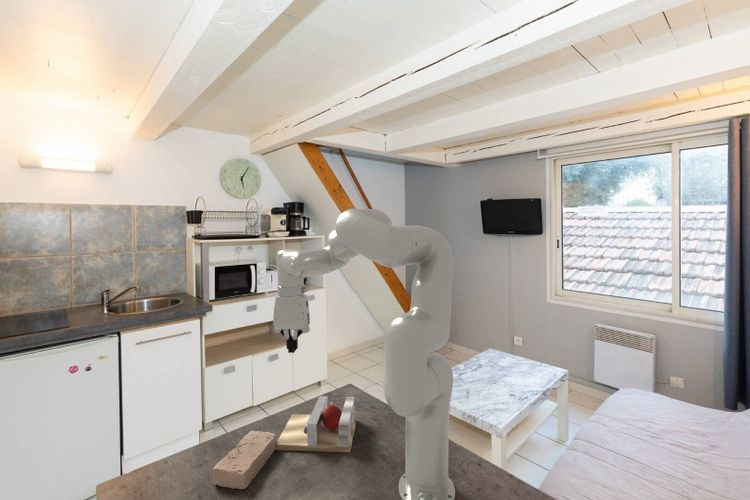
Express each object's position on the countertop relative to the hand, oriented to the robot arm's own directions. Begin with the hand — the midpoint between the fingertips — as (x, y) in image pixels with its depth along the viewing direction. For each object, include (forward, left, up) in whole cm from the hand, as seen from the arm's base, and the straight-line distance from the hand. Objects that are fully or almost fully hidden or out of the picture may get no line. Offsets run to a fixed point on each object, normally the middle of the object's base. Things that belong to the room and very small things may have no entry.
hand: (292, 351), depth 106 cm
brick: (-20, +6, -23) cm, 31 cm away
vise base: (-6, -9, -22) cm, 25 cm away
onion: (-6, -13, -21) cm, 25 cm away
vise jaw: (-6, -8, -21) cm, 23 cm away
